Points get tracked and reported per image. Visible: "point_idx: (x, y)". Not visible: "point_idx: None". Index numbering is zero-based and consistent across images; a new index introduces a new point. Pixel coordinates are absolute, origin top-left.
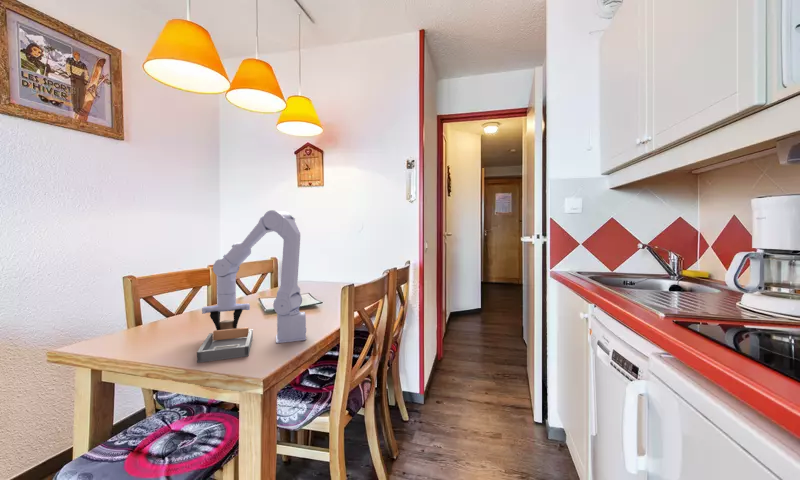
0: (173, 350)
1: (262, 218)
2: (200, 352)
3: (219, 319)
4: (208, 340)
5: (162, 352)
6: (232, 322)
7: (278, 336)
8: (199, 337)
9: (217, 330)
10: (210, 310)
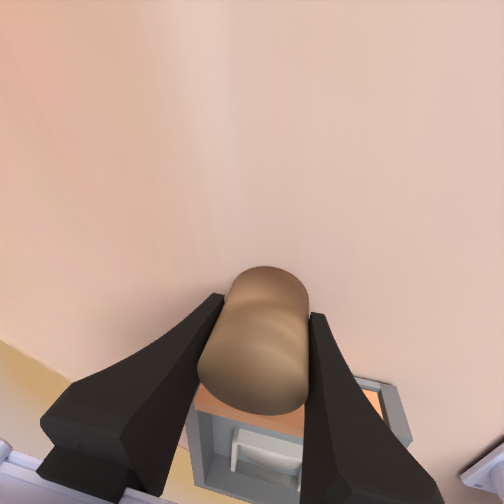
0: (99, 345)
1: None
2: (203, 486)
3: (182, 377)
4: (200, 437)
5: (75, 344)
6: (294, 405)
7: (500, 494)
8: (125, 242)
9: (213, 407)
10: (35, 501)
